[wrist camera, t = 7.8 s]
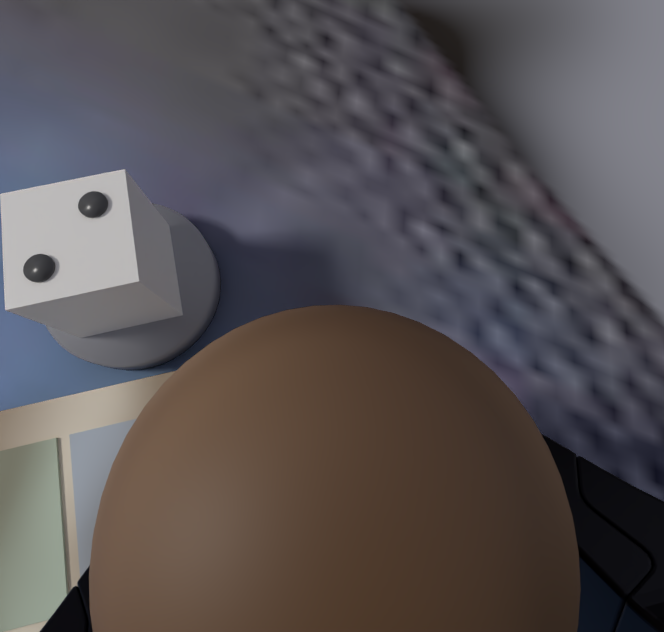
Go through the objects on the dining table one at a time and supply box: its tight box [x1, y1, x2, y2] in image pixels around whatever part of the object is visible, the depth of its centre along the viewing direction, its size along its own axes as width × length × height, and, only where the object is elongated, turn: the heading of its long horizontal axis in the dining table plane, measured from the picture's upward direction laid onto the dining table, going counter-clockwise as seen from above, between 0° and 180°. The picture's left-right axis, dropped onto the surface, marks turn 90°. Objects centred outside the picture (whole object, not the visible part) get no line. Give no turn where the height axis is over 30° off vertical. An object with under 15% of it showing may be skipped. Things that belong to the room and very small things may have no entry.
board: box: [0, 371, 176, 632], centre depth 16 cm, size 20×9×1 cm, turn 103°
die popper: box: [0, 169, 221, 370], centre depth 16 cm, size 7×7×5 cm
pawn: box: [89, 305, 581, 632], centre depth 9 cm, size 6×6×13 cm
